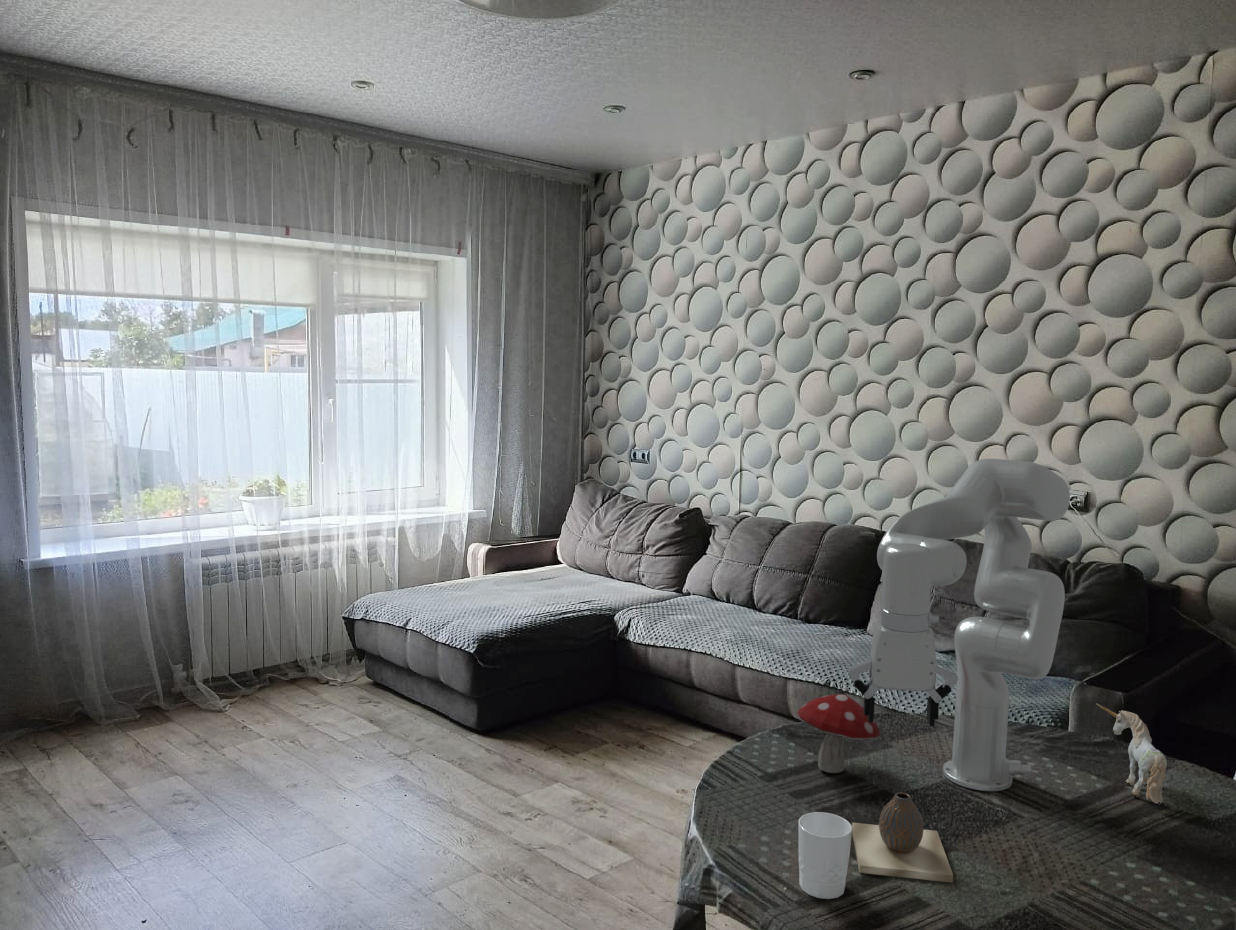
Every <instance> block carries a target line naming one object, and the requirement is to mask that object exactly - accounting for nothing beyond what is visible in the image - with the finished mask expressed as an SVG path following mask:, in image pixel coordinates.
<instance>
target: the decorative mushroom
mask: <svg viewBox="0 0 1236 930" xmlns="http://www.w3.org/2000/svg"><path fill="white" fill-rule="evenodd" d="M863 708H864V706H862V705H861V704H859V702H857V701H856V700H854V699H853V698H851V697H850V696H849V695H846V694H842V693H841V694H830V695H824V696H821V697H817V698H814V699H812V700H810V701H808V702H806V703H805V704H804V705H803V706H801V707H800V708H799V709H798V711H797V712H796V713H797V715H798V717H799V718H800V720H802V722H803V721H804V722H805V723H807V724H808V725H810V726H811V727H813V728H815V729H817V730H819V731H821V732H823V733H826V734H825V736H824V738H823V740H822V742H821V744H820V747H819V748H820V749H819V751H818V759H817V761H818V762H817V765H818V766H817V767H818V768H819V770H821V771H823V772H825V773H830V774H839V773H841V772H843V771H844V770H845V753H844V747H843V738H844V739H845V738H846V739H849V740H852V741H854V740H855V741H856V740H859V741H860V740H861V741H862V740H863V741H866V740H872V739H876V738H878V737H879V736H880V735H881V733H880V729H879V726H878V724H877V722H876V721H875V719H874V722H872V723H871V722H869V721H868V718H867V715H864V712H863Z"/></svg>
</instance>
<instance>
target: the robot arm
mask: <svg viewBox="0 0 1236 930" xmlns="http://www.w3.org/2000/svg"><path fill="white" fill-rule="evenodd" d="M1070 501H1071V494H1070V489H1069V486H1068V483H1067V482H1066V480H1064V478H1063V477H1061V476H1060V475H1059V474H1057V473H1056V472H1054V471H1052V470H1051V469H1049V468H1047V467H1046V466H1044V465H1042V464H1039V463H1036V462H1033V461H1026V460H1025V461H1023V460H1022V461H1021V460H1012V459H1011V460H1010V459H1000V458H982V459H978V460H976V461H974V462H973V463H971V464H970V465H969V466H968V467H967V469H966V470H965V471H964V473H962V474H961V476H960V478H959V479H957V481H956V482H955V484H954V485H953V486H952V487H951V489H950V490H949V491H948V493H947V494H946V495H945V497H941V498H940V499H936V500H933V501H930V502H927V503H925V504H923V505H920V506H918V507H916V508H913V509H911V510H909V511H906V512H905V513H903V514H902V515H901V516H899V517H898V518H897V519H896V520H895V521H894V522H893V524H892V525H891V526H890V527H889V528H888V530H887V531H886V532H885V533H884V535H883V537H882V539H881V541H880V542H879V545H878V547H877V552H876V560H877V565H878V567H879V568H880V570H881V571H882V591H881V609H880V610H881V612H880V623H877V624H876V625H875V626H874V630H873V635H872V640H871V647H870V655H869V659H867V660H865V661H861V662H860V663H858V664H855V665H853V666H850V667H848V668H847V673H848V675H849V676H850V679H851V681H852V683H853V685H854V688H856V689H857V691H858V692H860V693H861V695H863V712H864V715H867V718H868V721H869V722H871V723H872V722H874V720H875V717H874V716H875V698H874V695H875V694H876V693H877V692H878V691H879V690H880V689H881V690H882V689H883V690H893V691H894V690H895V691H896V690H897V691H913V692H926V693H928V697H927V698H926V699H927V702H926V703H927V704H926V718H925V719H926V721H927V723H928V725H929V726H930V727H935V721H937V720H939V709H940V703H941V702H942V701H943V699H944V698H945V697H947V696H948V695H949V694H950V693H951V692H952V689H953V688H954V687H955V685H956V693H955V694H956V696H955V707H954V722H953V723H954V725H953V736H952V737H953V738H952V739H953V740H952V753H951V754H952V755H951V756H952V757H951V760H948V761H946V762H945V763H943V765H942V773H943V775H944V776H945V777H946V778H947V780H949V781H950V782H952V783H954V784H956V785H958V786H961V787H964V788H968V789H970V790H975V791H981V792H1000V791H1004V790H1007V789H1009V788H1011V786H1012V784H1013V776H1014V775H1015V774H1016V775H1021V776H1031V775H1032V766H1031V765H1029V764H1022V763H1021V760H1016V759H1015V760H1011V759H1009V758H1007V757H1006V751H1007V737H1008V724H1009V708H1010V691H1009V687H1008V684H1007V682H1006V680H1005V678H1004V675H1003V674H1006V675H1010V676H1015V677H1020V678H1024V679H1029V680H1037V681H1038V680H1041V679H1043V678H1045V677H1046V676H1047V675H1048V674H1049V672H1050V670H1051V668H1052V665H1053V661H1054V657H1055V656H1054V655H1055V653H1056V648H1057V642H1058V637H1059V632H1060V629H1061V628H1060V627H1061V623H1062V618H1063V614H1064V613H1063V612H1064V607H1065V598H1066V593H1065V591H1066V590H1065V586H1064V583H1063V581H1062V579H1061V578H1060V577H1059V576H1058V575H1057V574H1055V573H1053V572H1051V571H1046V570H1042V569H1036V568H1029V562H1030V556H1031V552H1032V544H1033V543H1032V540H1031V537H1030V535H1029V533H1028V531H1027V530H1026V528H1025V527H1024V525H1023V524H1022V523H1021V521H1020V519H1019V518H1021V519H1028V520H1029V519H1032V520H1035V521H1047V522H1054V521H1058V520H1061V519H1062V518H1063V517H1064V515H1065V514H1066V512H1067V511H1068V509H1069V507H1070V503H1071V502H1070ZM983 530H984V544H983V548H982V552H981V556H980V557H981V558H980V562H979V565H978V571H977V575H976V580H975V583H974V591H973V592H974V593H973V595H974V596H973V598H974V602H975V604H976V605H977V606H978V607H980V608H981V609H983V610H985V611H988V612H992V613H996V614H1000V615H1005V616H1009V617H1010V616H1011V617H1015V618H1021V619H1025V620H1028V621H1029V625H1023V624H1020V623H1014V622H1009V621H1006V620H1002V619H1001V620H1000V619H997V618H990V617H984V616H970V617H966V618H963V620H961V621H960V622H959V623H958V624H957V626H956V628H955V630H954V631H955V632H954V638H953V639H954V643H953V644H954V652H955V659H956V673H955V672H953V671H951V670H949V669H948V668H946V667H944V666H943V665H940V664H939V663H937V661H936V657H937V656H936V643H935V635H934V630H933V628H932V627H931V626H932V624H939V622H940V617H939V614H934V613H932V612H931V600H932V598H931V596H932V595H931V593H932V587H944V586H945V587H946V586H950V585H952V584H954V583H956V582H957V581H959V580H960V579H961V578H962V577H963V576H964V573H965V571H966V569H967V562H968V561H967V554H966V552H965V551H964V548H963V547H961V545H959V543H955V542H954V541H951V540H954V539H961V538H966V537H971V536H974V535H977V534H979V533H981V532H982V531H983ZM867 671H869V673H868V676H869V678H870V680H868V681H867V682H866V684H865V683H864V682H863V681H862V680H861V678H860V675H861V674H863V673H865V672H867ZM937 675H939V676H941V677H943V678H944V679H945V680H944V682H943V683H942V684H941V685H940V686H939V687H937V688H936V681H937Z"/></svg>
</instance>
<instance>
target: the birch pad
mask: <svg viewBox="0 0 1236 930" xmlns="http://www.w3.org/2000/svg"><path fill="white" fill-rule="evenodd" d="M851 826H852V834H851V835H852V840H853V844H854V850H855V855H856V860H857V866H858V871H859V873H860V874H867V875H868V874H870V875H878V876H886V877H896V878H906V879H916V880H925V881H935V882H945V883H953V882H954V874H953V871H952V868H951V865H950V862H949V860H948V858H947V855H946V852H945V849H944V845H943V843H942V841H941V837H940V835H939V832H938V831H937V830H933V829H924V830H923V837H922V840H921V842H920V844H919V846H918V847H917V848H916V849H914V850H913V851H911V852H909V853H899V852H895V851H893V850H891V849H889V848H888V847H887V846H886V844H885V843H884V842H883V840H882V838H881V835H880V831H879V824H871V823H861V822H851Z"/></svg>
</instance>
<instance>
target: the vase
mask: <svg viewBox="0 0 1236 930" xmlns="http://www.w3.org/2000/svg"><path fill="white" fill-rule="evenodd" d="M878 825H879V831H880V835H881V838H882V840H883V842H884V843H885V844H886V846H887V847H888V848H889V849H891V850H893V851H895V852H899V853H909V852H911V851H913V850H914V849H916V848H917V847H918V846H919V844H920V842H921V840H922V837H923V830H925V829H924V820H923V817H922V814H921V812H920V810H919V809H918V807H917V806H916V804H915V803H914V802H913V800H912V796H911V795H910V794H908V793H905V792H896V793H895V794H894V796H893V797H892V798H891V800H890V801H888V802H887V803H886V805H885V806H884V807H883V808H882V810H881V813H880V816H879V821H878Z"/></svg>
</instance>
